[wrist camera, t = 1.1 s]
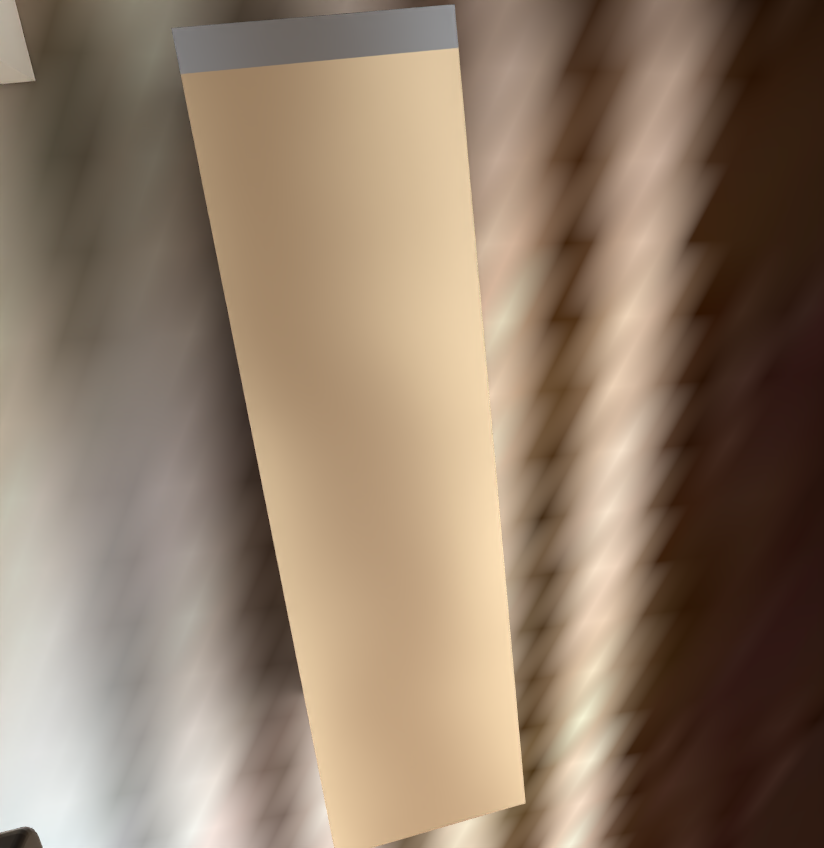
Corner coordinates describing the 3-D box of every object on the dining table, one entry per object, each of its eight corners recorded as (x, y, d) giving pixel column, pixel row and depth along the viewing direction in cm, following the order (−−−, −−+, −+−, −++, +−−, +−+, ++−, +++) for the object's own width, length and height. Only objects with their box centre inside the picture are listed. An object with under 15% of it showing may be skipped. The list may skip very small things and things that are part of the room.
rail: (384, 63, 16) (454, 4, 11) (454, 657, 21) (525, 802, 16) (190, 82, 16) (171, 27, 11) (309, 693, 21) (336, 858, 16)
